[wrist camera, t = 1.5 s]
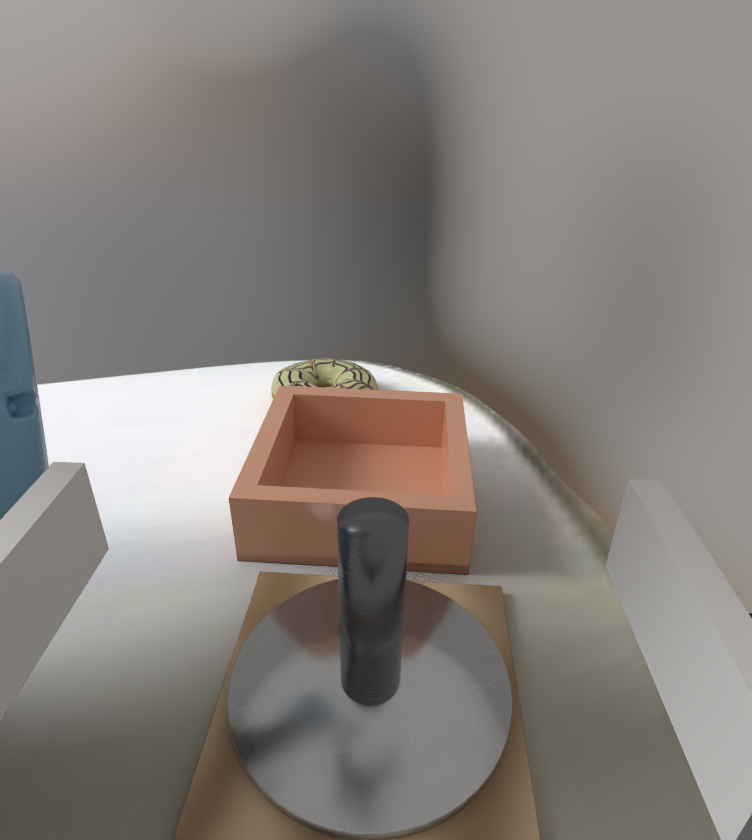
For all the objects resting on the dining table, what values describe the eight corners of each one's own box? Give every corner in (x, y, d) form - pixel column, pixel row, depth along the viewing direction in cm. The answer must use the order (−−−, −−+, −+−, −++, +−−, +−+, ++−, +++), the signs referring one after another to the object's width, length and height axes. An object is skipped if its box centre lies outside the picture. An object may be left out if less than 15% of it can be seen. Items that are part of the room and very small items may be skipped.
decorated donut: (301, 446, 54) (299, 411, 52) (258, 398, 62) (254, 365, 60) (396, 418, 59) (397, 384, 57) (345, 376, 67) (344, 345, 65)
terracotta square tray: (237, 560, 41) (228, 497, 38) (283, 438, 55) (279, 385, 52) (468, 574, 40) (476, 511, 38) (456, 446, 54) (461, 393, 51)
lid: (188, 827, 26) (138, 650, 20) (265, 577, 39) (249, 424, 33) (531, 855, 25) (584, 680, 19) (494, 591, 38) (519, 437, 32)
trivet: (175, 845, 26) (173, 838, 26) (260, 578, 40) (260, 571, 39) (542, 876, 25) (544, 870, 25) (500, 592, 39) (501, 586, 39)
